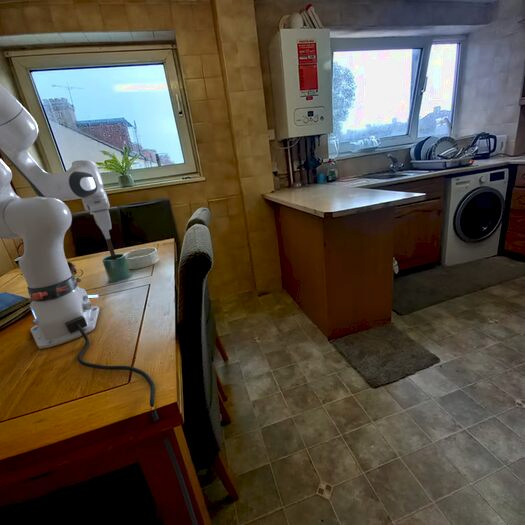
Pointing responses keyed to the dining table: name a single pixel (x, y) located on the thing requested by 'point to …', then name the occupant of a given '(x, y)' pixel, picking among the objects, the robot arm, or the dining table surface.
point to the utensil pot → (116, 268)
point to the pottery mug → (71, 267)
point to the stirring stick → (111, 249)
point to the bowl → (141, 257)
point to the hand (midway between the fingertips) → (107, 238)
